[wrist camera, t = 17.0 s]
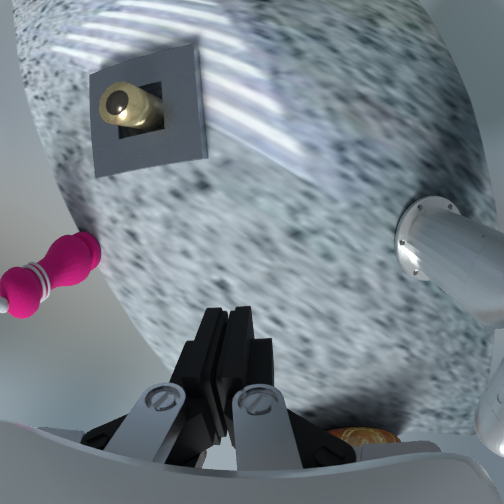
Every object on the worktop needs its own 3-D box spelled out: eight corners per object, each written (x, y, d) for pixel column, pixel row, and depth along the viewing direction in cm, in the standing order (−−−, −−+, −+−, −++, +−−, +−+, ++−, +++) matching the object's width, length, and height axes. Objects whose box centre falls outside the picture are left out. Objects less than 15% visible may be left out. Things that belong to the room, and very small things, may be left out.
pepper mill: (82, 218, 38) (-15, 263, 19) (111, 252, 39) (24, 316, 20) (62, 249, 40) (-24, 301, 21) (90, 280, 41) (12, 347, 22)
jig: (198, 51, 30) (193, 44, 27) (208, 158, 35) (203, 158, 32) (100, 78, 31) (89, 74, 28) (106, 176, 36) (95, 178, 33)
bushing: (164, 92, 32) (135, 76, 23) (167, 126, 34) (137, 118, 25) (132, 100, 32) (97, 88, 24) (134, 133, 34) (99, 129, 25)
